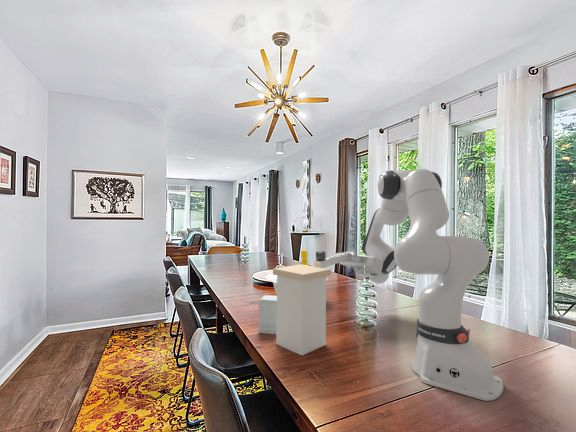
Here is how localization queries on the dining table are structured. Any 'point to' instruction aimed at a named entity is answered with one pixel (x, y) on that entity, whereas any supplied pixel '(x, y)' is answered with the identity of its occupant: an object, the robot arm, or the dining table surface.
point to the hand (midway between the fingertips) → (346, 254)
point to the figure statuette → (304, 257)
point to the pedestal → (301, 307)
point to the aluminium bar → (331, 258)
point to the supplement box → (268, 314)
